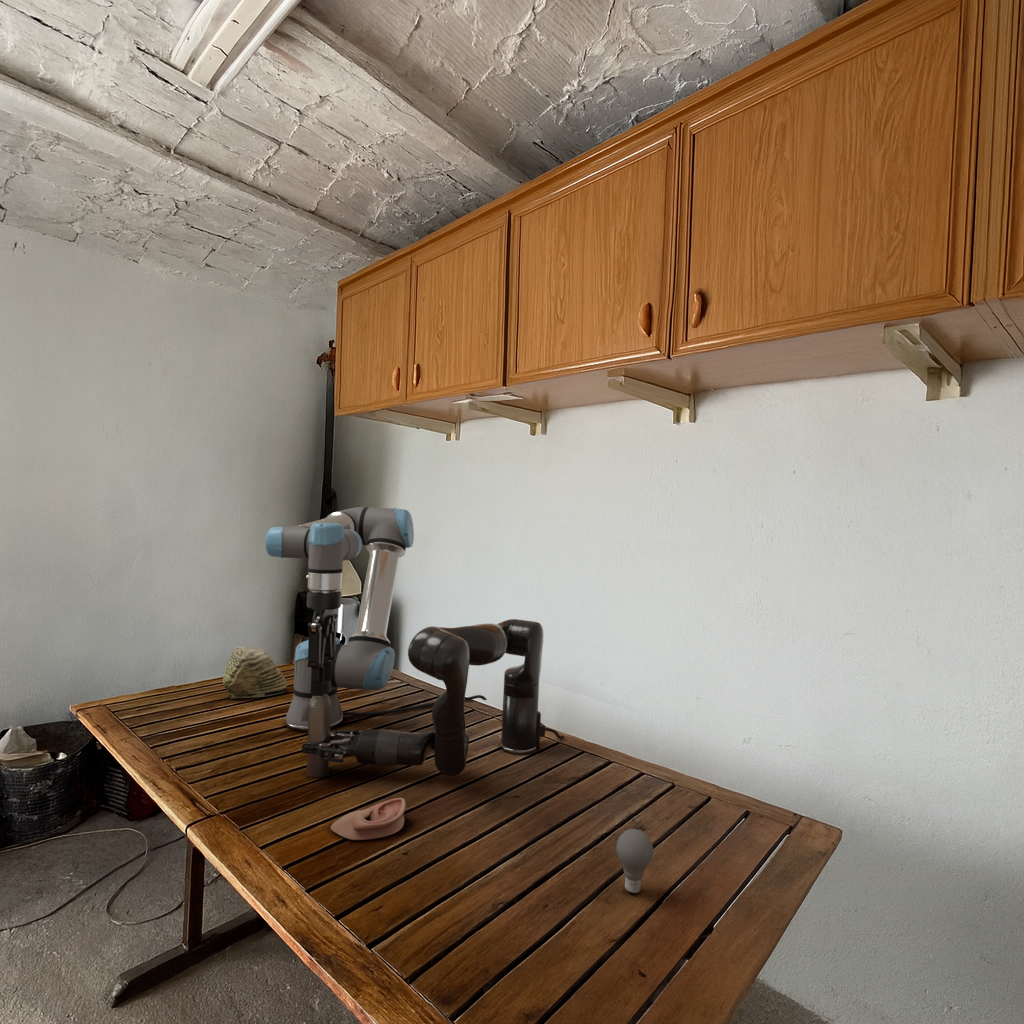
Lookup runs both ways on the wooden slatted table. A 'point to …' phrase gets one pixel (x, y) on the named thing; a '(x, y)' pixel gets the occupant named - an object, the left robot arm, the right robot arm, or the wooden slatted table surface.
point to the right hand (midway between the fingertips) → (307, 743)
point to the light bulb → (634, 857)
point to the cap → (327, 686)
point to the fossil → (252, 674)
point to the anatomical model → (372, 821)
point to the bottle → (318, 733)
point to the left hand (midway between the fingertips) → (320, 692)
